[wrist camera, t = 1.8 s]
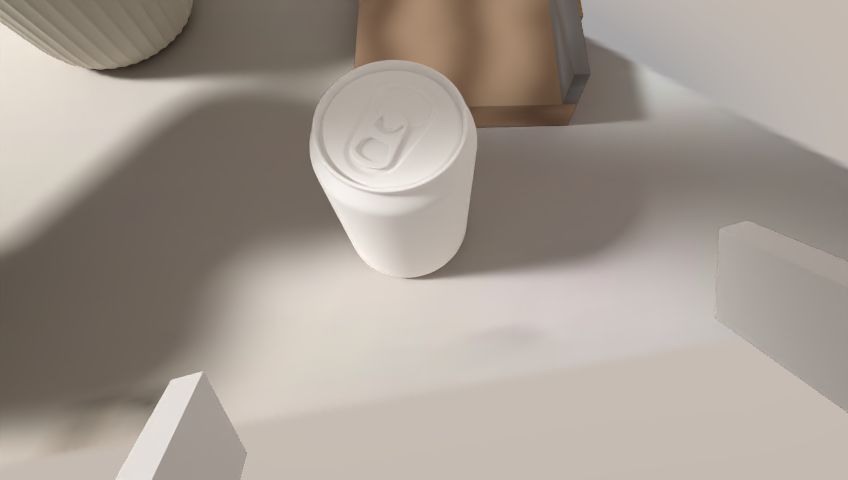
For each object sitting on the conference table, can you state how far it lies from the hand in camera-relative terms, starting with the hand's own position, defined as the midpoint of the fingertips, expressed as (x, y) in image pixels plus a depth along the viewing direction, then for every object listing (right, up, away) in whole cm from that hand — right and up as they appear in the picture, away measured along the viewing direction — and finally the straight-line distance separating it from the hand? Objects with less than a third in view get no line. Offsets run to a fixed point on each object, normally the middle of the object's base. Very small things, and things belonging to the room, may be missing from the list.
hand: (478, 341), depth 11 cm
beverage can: (-3, +3, +20) cm, 21 cm away
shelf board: (+1, +19, +26) cm, 32 cm away
